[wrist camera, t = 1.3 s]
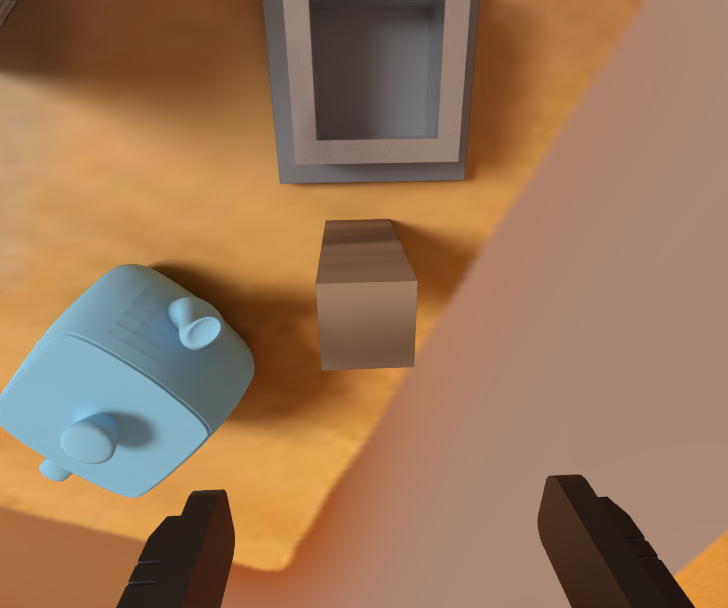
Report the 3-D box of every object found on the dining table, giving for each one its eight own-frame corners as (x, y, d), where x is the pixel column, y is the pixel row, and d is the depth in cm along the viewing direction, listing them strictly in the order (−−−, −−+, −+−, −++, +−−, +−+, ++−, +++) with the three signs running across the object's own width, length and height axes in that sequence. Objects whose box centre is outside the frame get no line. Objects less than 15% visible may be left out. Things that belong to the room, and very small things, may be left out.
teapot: (318, 308, 32) (306, 402, 22) (174, 437, 36) (106, 566, 26) (186, 188, 28) (92, 232, 17) (42, 350, 32) (-101, 463, 22)
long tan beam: (325, 220, 29) (315, 283, 18) (389, 219, 29) (417, 280, 18) (328, 280, 31) (321, 370, 20) (388, 278, 31) (414, 366, 20)
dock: (261, -45, 23) (240, -86, 18) (476, -45, 23) (511, -85, 19) (282, 181, 28) (269, 194, 23) (459, 177, 28) (482, 189, 24)
